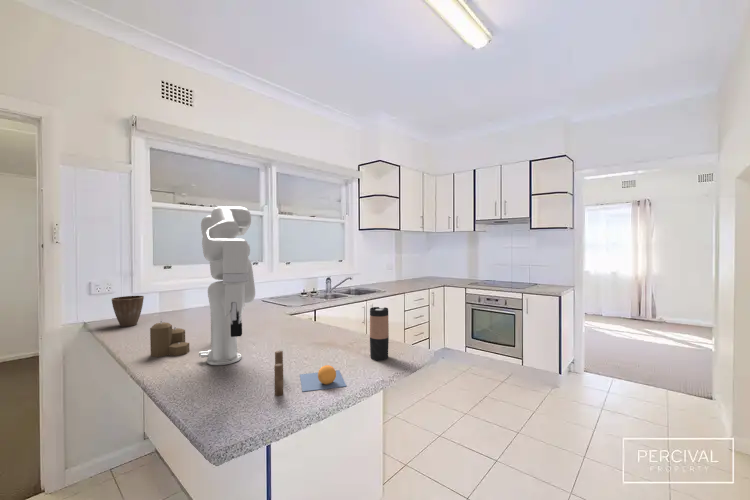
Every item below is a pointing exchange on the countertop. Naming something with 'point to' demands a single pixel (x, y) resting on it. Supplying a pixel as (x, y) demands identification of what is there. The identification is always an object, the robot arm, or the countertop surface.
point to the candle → (167, 340)
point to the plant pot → (127, 309)
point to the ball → (326, 374)
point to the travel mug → (379, 333)
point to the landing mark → (313, 383)
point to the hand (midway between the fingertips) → (236, 335)
